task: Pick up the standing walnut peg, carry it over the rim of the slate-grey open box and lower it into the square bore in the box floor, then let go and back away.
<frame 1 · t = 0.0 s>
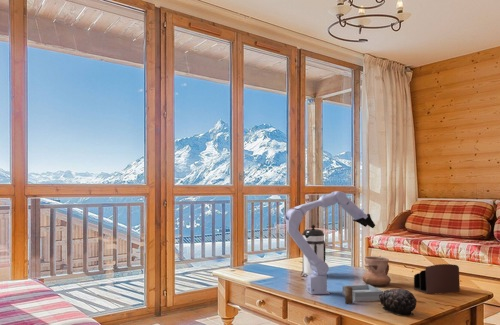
hand: (370, 226, 215), 32 cm above the table, tool tilted 50°, fingers open, 7 cm apart
letter holder: (436, 291, 213), on the table
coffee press: (314, 276, 247), on the table
slate box: (362, 297, 200), on the table
pine cone: (395, 311, 177), on the table
ceramic jug: (377, 284, 226), on the table
walnut peg: (348, 303, 189), on the table
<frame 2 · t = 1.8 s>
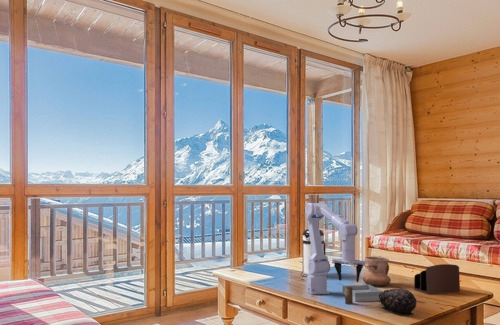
hand: (348, 280, 189), 10 cm above the table, tool pointing down, fingers open, 7 cm apart
nothing on the table moved.
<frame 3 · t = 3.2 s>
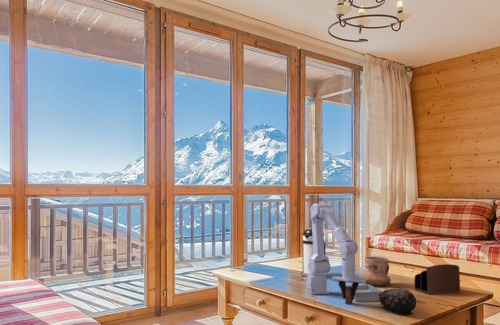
hand: (348, 298, 189), 2 cm above the table, tool pointing down, fingers closed on walnut peg, 3 cm apart
walnut peg: (348, 303, 189), on the table, touching gripper
everything else where it was.
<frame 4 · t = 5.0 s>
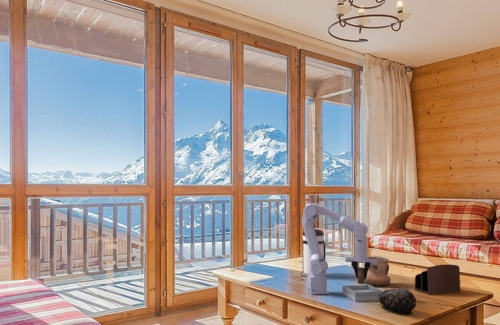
hand: (361, 278, 199), 9 cm above the table, tool pointing down, fingers closed on walnut peg, 3 cm apart
walnut peg: (361, 283, 199), point 7 cm above the table, touching gripper
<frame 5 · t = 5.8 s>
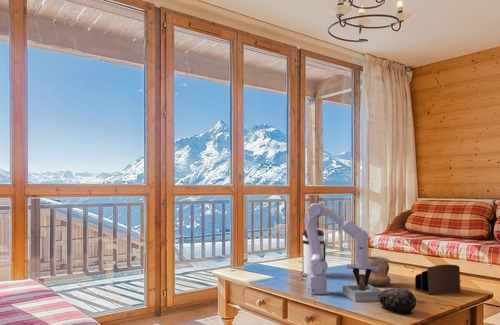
hand: (362, 285, 200), 6 cm above the table, tool pointing down, fingers closed on walnut peg, 3 cm apart
walnut peg: (362, 289, 200), point 3 cm above the table, touching gripper
when the fingers open (3 cm above the table, at t = 6.6 s): walnut peg stays where it is, resting in slate box.
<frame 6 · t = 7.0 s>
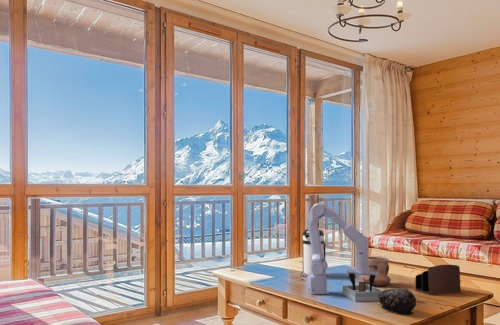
hand: (362, 290, 200), 3 cm above the table, tool pointing down, fingers open, 7 cm apart
walnut peg: (362, 297, 199), resting in slate box
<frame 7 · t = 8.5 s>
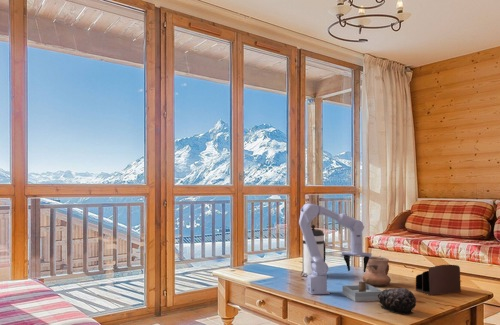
hand: (356, 271, 211), 10 cm above the table, tool pointing down, fingers open, 7 cm apart
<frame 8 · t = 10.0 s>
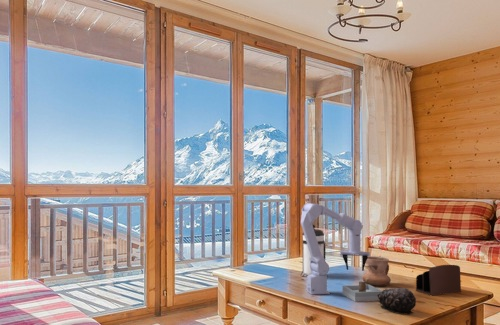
hand: (355, 270, 214), 10 cm above the table, tool pointing down, fingers open, 7 cm apart
at the end: walnut peg 0.2 cm off-centre on the slate box, point 0.0 cm above the slate box's base; walnut peg tilted 0°; the gripper is holding nothing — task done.
